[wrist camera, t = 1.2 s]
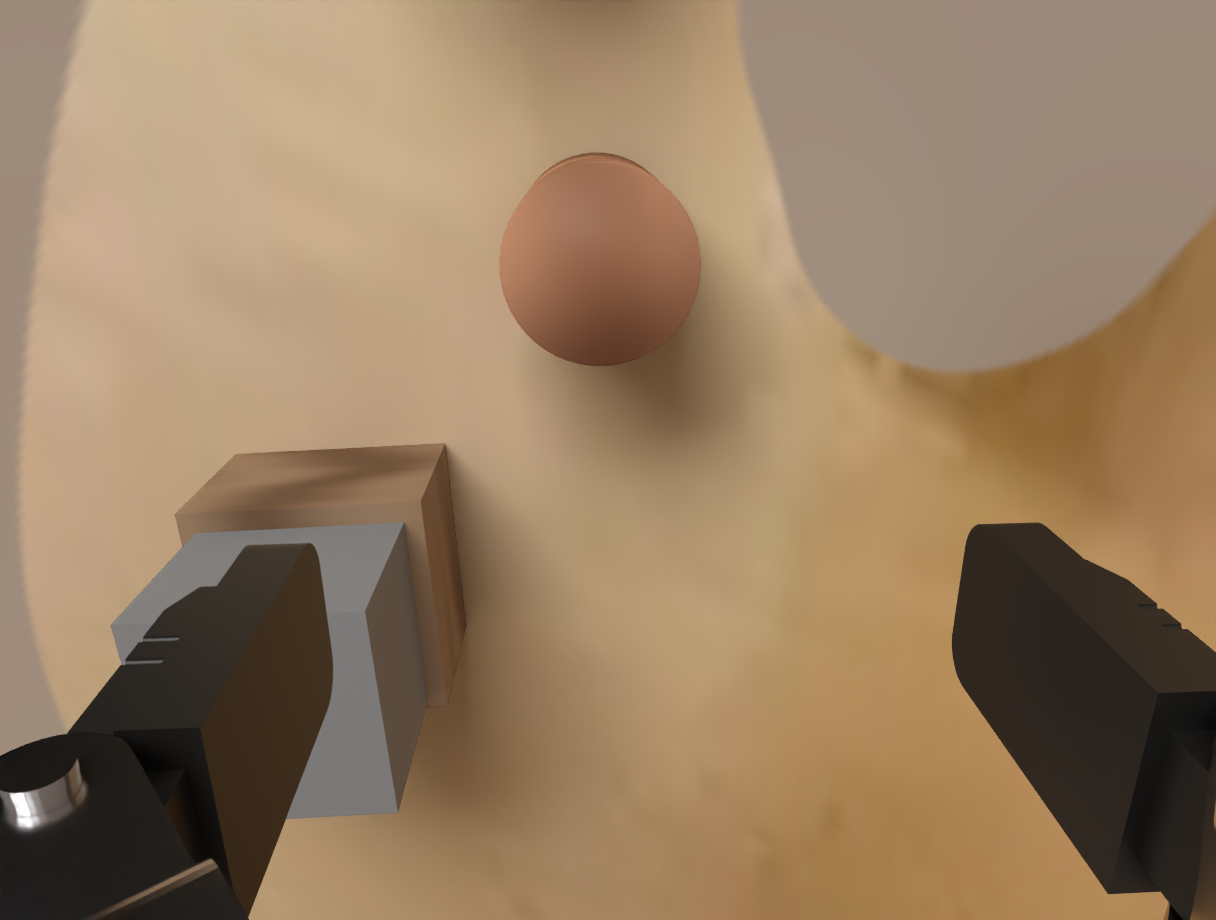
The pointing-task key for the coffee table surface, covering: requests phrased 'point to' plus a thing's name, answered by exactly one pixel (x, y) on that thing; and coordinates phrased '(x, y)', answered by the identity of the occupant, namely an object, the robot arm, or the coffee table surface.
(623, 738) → the coffee table surface
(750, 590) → the coffee table surface
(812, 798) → the coffee table surface
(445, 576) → the tower base
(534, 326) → the brown rounded knob
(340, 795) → the tower top
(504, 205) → the coffee table surface
